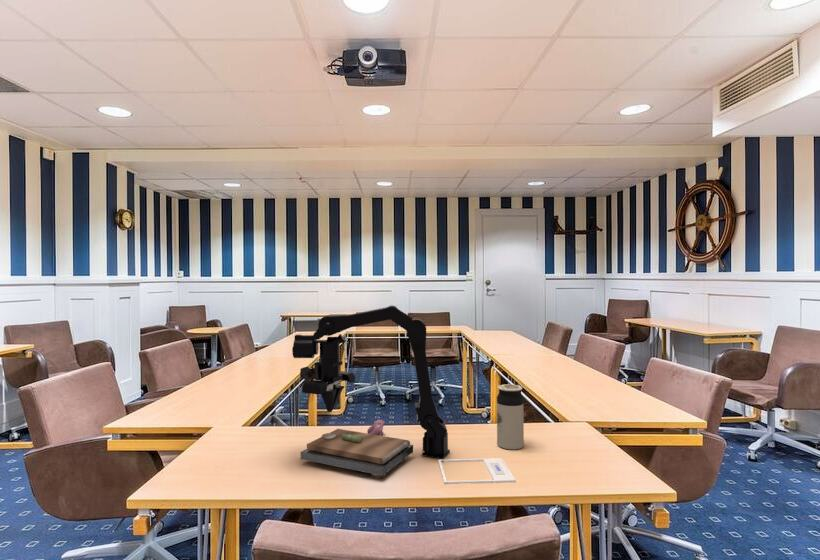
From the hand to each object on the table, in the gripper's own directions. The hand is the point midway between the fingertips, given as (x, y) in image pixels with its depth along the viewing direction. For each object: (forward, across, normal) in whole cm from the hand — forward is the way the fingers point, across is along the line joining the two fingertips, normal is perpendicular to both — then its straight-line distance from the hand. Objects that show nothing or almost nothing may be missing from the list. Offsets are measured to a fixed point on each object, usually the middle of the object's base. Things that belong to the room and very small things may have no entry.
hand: (329, 411), depth 134 cm
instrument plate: (+9, 0, +10) cm, 13 cm away
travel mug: (+13, -30, +46) cm, 56 cm away
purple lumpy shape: (+13, -18, +5) cm, 23 cm away
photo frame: (+13, -7, +42) cm, 44 cm away
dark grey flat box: (+13, 0, +10) cm, 16 cm away
